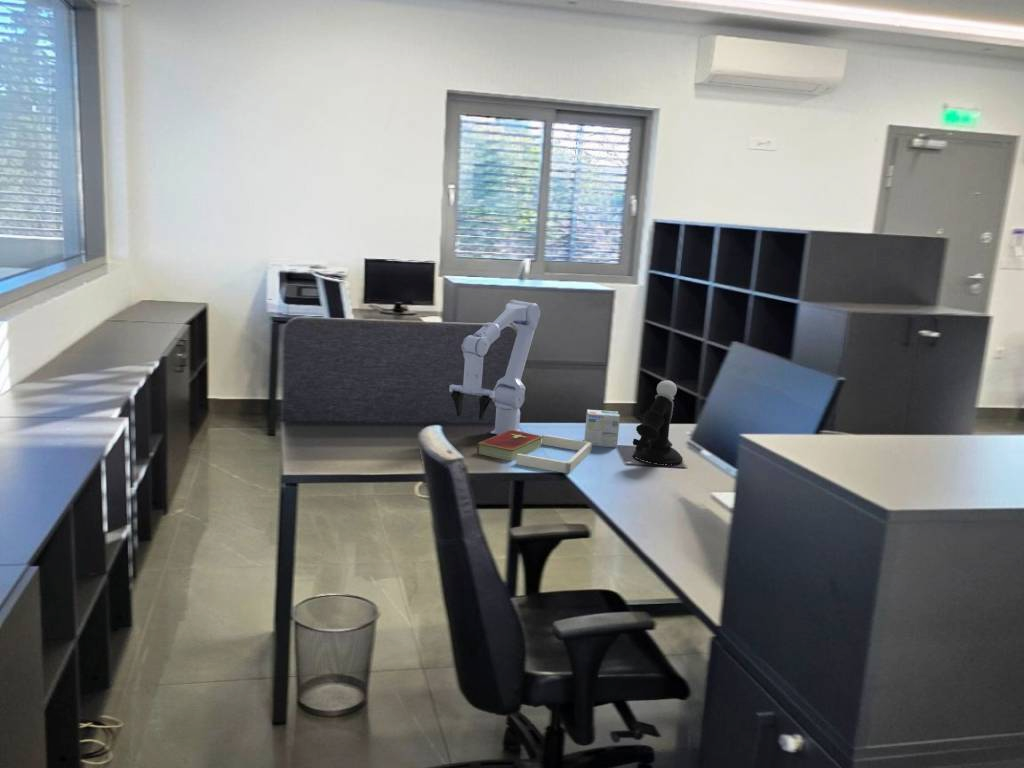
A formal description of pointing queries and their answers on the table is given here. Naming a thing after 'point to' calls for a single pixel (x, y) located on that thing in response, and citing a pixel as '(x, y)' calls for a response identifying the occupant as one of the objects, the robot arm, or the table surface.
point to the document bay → (557, 465)
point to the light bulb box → (602, 428)
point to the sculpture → (658, 429)
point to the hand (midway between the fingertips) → (470, 416)
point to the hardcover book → (509, 444)
